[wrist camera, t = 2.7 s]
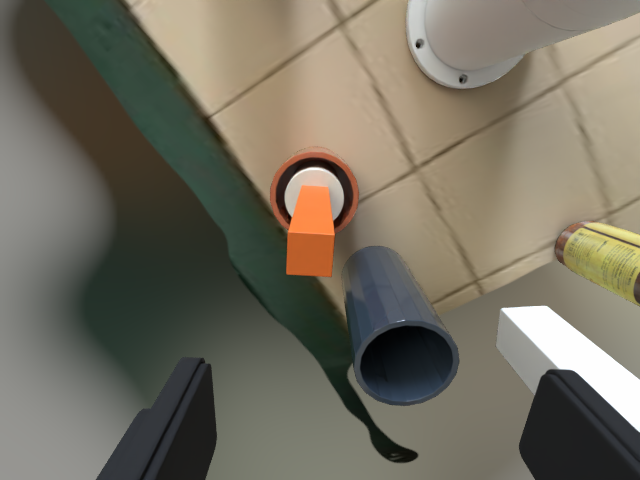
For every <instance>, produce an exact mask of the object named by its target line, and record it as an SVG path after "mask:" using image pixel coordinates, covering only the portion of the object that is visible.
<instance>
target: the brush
mask: <svg viewBox="0 0 640 480" xmlns="http://www.w3.org/2000/svg"><path fill="white" fill-rule="evenodd" d="M343 204H344V193H343V189H342V186H341V183H340V180H339V178H338V175H337V173H336V172H335V170H334V169H333V168H332V167H331V166H330V165H328V164H326V163H324V162H321V161H309V162H306V163H304V164H302V165H301V166H300V167H298V168H297V169H296V171H295V172H294V174H293V176H292V178H291V180H290V182H289V183H288V185H287V188H286V191H285V205H286V208H287V211H288V213H289V214H290V216H291V217H292V220H291V223H290V227H289V230H288V242H287V274H288V275H306V276H323V277H331V276H332V266H333V253H334V241H335V232H334V224H333V221H334V220H335V219H336V218H337V217H338V215H339V214H340V212H341V210H342V208H343Z"/></svg>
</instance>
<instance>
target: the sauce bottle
mask: <svg viewBox="0 0 640 480" xmlns="http://www.w3.org/2000/svg"><path fill="white" fill-rule="evenodd" d="M555 254H556V257H557V259H558V261H559V262H560V263H562V264H563V265H565V266H566V267H568V268H569V269H570V270H571V271H573V272H575V273H576V274H578V275H580V276H582V277H584V278H586V279H588V280H590V281H592V282H594V283H596V284H598V285H599V286H601V287H603V288H605V289H607V290H609V291H611V292H613V293H615V294H617V295H619V296H621V297H622V298H624V299H626V300H628V301H630V302H632V303H634V304H636V305H638V306H640V235H639V234H636V233H633V232H630V231H626V230H623V229H620V228H617V227H613V226H610V225H607V224H603V223H597V222H594V221H583V222H579V223H576V224H573V225H570V226H569V227H567V228H566V229H565V230H564V231H563V232H562V234H561V235H560V236H559V237H558V240H557V241H556V245H555Z"/></svg>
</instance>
